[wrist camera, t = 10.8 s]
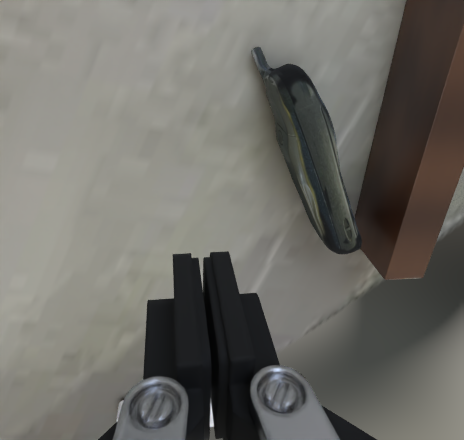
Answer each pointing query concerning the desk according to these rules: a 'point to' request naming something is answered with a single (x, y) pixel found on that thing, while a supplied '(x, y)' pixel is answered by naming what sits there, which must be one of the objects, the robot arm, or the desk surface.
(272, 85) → the mobile phone
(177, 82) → the desk surface
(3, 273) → the desk surface
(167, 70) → the desk surface
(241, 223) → the desk surface
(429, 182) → the wooden block
